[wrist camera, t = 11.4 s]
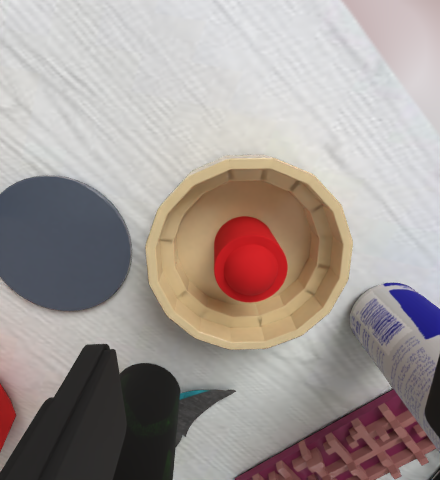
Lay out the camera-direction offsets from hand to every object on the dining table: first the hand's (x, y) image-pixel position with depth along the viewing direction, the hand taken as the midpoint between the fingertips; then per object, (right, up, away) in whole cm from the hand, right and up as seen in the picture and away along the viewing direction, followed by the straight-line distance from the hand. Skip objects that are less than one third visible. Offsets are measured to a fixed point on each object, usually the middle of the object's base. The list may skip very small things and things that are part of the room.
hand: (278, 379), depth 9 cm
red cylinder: (0, +4, +13) cm, 13 cm away
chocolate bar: (+9, -16, +20) cm, 27 cm away
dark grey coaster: (-13, +4, +13) cm, 19 cm away
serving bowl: (0, +4, +13) cm, 14 cm away
